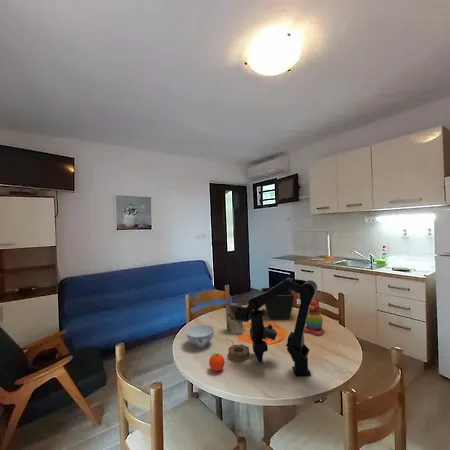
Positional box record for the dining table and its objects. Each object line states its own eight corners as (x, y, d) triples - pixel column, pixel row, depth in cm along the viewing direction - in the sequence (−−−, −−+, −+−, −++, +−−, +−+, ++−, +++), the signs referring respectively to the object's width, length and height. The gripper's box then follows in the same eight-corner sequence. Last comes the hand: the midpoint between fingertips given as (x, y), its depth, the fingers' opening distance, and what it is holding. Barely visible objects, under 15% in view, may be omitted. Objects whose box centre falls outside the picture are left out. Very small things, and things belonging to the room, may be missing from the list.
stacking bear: (301, 332, 147) (300, 301, 147) (308, 325, 155) (307, 296, 154) (320, 337, 140) (318, 304, 140) (326, 330, 148) (325, 299, 147)
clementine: (204, 369, 115) (203, 353, 115) (216, 362, 120) (215, 347, 120) (216, 376, 110) (216, 360, 109) (228, 369, 114) (227, 353, 114)
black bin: (265, 322, 164) (264, 295, 163) (262, 311, 182) (261, 287, 182) (295, 321, 163) (294, 294, 162) (289, 310, 182) (288, 286, 181)
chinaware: (194, 354, 128) (193, 339, 128) (182, 343, 141) (181, 329, 140) (220, 345, 136) (219, 331, 136) (206, 335, 149) (205, 322, 149)
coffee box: (244, 329, 154) (242, 303, 154) (242, 334, 148) (240, 306, 148) (229, 328, 156) (227, 302, 156) (226, 333, 150) (225, 306, 150)
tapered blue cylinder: (263, 363, 117) (262, 344, 117) (255, 364, 117) (254, 344, 117) (262, 359, 121) (261, 340, 121) (254, 359, 121) (253, 341, 121)
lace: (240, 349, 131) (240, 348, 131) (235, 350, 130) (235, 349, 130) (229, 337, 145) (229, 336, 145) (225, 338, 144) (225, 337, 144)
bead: (250, 361, 120) (249, 354, 120) (228, 361, 120) (228, 355, 120) (248, 350, 130) (248, 344, 130) (228, 350, 130) (228, 345, 130)
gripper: (278, 331, 109) (280, 367, 109) (271, 315, 128) (272, 346, 128) (252, 332, 109) (254, 368, 110) (248, 316, 128) (250, 347, 128)
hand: (258, 356), depth 119 cm, fingers open, 9 cm apart
